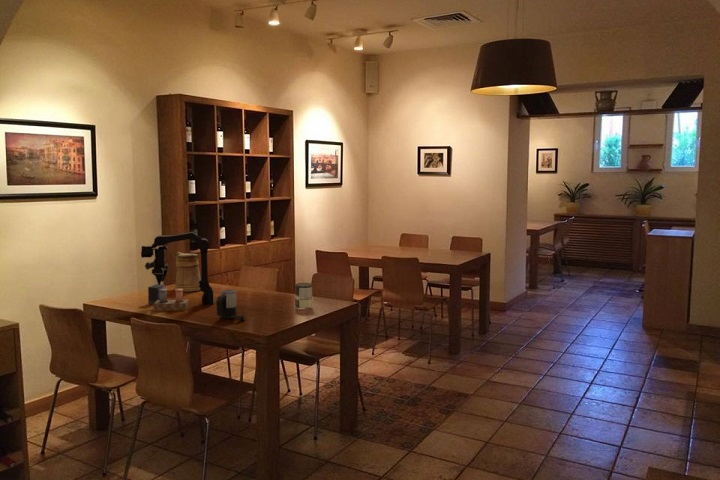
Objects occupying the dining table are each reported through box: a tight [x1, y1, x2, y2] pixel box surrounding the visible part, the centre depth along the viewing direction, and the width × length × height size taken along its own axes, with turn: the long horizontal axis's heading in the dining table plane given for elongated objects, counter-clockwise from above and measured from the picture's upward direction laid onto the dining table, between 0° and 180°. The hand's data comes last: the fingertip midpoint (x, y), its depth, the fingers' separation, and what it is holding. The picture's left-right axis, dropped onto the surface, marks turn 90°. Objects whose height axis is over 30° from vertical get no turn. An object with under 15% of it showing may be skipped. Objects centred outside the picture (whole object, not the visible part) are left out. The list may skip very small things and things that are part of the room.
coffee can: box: [294, 282, 313, 309], centre depth 349 cm, size 10×10×14 cm
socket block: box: [153, 299, 190, 312], centre depth 343 cm, size 18×10×4 cm, turn 99°
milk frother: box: [215, 289, 246, 321], centre depth 321 cm, size 14×16×15 cm
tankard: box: [174, 251, 201, 293], centre depth 398 cm, size 18×24×25 cm
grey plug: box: [159, 288, 168, 303], centre depth 342 cm, size 5×5×8 cm
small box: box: [147, 283, 167, 305], centre depth 358 cm, size 11×6×10 cm, turn 168°
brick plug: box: [174, 288, 184, 303], centre depth 343 cm, size 5×5×8 cm
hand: (160, 283), depth 348 cm, fingers open, 9 cm apart
